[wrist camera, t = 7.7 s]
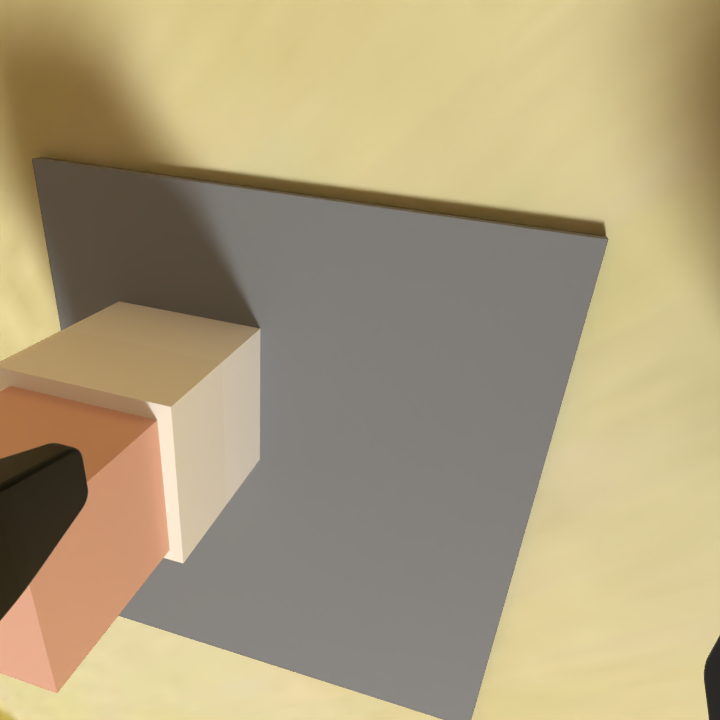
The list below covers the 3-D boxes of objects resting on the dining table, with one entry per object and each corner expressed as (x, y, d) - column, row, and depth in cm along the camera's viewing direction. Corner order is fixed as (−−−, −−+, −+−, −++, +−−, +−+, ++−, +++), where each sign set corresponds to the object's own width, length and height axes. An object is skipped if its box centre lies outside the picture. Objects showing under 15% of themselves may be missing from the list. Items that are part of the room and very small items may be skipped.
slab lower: (260, 328, 21) (222, 362, 18) (259, 459, 24) (226, 504, 21) (119, 301, 22) (64, 329, 19) (134, 428, 25) (87, 468, 22)
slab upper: (222, 362, 18) (170, 406, 16) (226, 504, 21) (183, 563, 18) (64, 329, 19) (-9, 365, 17) (87, 468, 22) (28, 518, 20)
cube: (157, 420, 16) (18, 542, 12) (169, 549, 18) (56, 693, 14) (10, 385, 17) (-169, 486, 13) (39, 512, 19) (-105, 635, 15)
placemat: (606, 236, 17) (608, 239, 16) (469, 719, 28) (469, 727, 27) (40, 157, 21) (32, 158, 20) (113, 606, 32) (108, 612, 31)
